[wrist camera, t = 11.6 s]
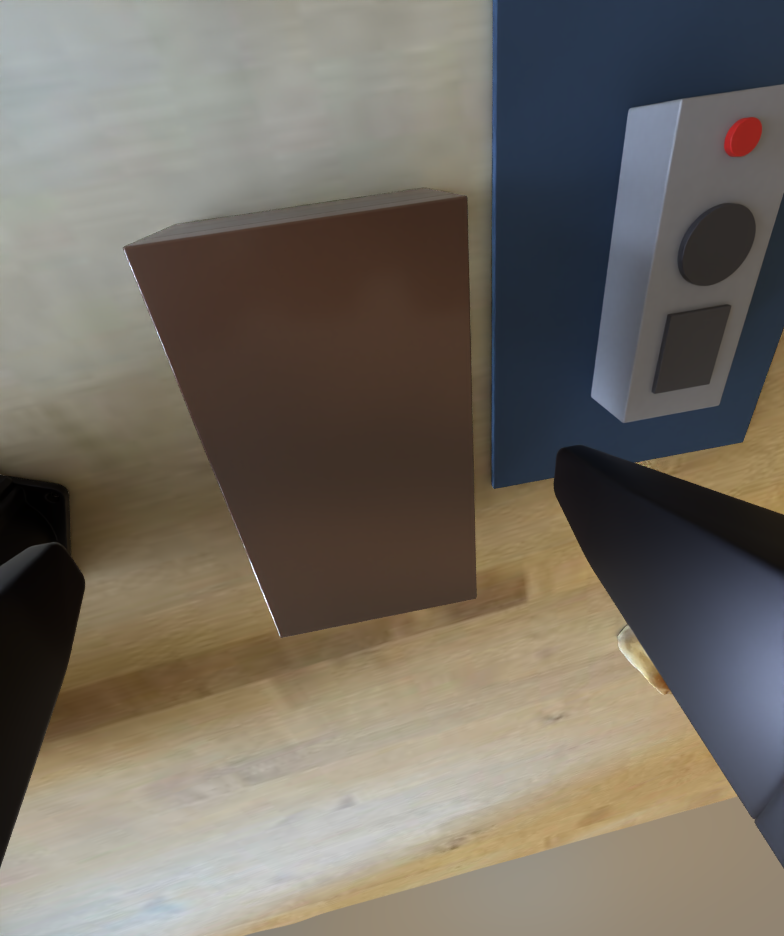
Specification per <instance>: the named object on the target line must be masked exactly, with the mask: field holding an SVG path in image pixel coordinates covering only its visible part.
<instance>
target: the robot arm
mask: <svg viewBox="0 0 784 936" xmlns="http://www.w3.org/2000/svg"><path fill="white" fill-rule="evenodd" d="M554 492H555V495H556V498H557V500H558V502H559V504H560V506H561V508H562V510H563V512H564V514H565V516H566V518H567V520H568V522H569V524H570V526H571V528H572V530H573V532H574V535H575V537H576V539H577V541H578V543H579V545H580V547H581V549H582V551H583V553H584V555H585V557H586V559H587V560H588V562H589V564H590V565H591V567H592V569H593V570H594V572H595V574H596V575H597V577H598V578H599V580H600V581H601V583H602V585H603V586H604V588H605V589H606V591H607V592H608V594H609V596H610V597H611V599H612V600H613V602H614V603H615V605H616V606H617V608H618V610H619V611H620V613H621V614H622V616H623V617H624V619H625V621H626V622H627V624H628V625H629V627H630V628H631V630H632V631H633V633H634V635H635V636H636V638H637V639H638V641H639V642H640V644H641V645H642V647H643V649H644V650H645V652H646V653H647V655H648V656H649V658H650V660H651V661H652V663H653V664H654V666H655V667H656V669H657V670H658V672H659V674H660V675H661V677H662V678H663V680H664V681H665V683H666V685H667V686H668V688H669V689H670V691H671V692H672V694H673V695H674V697H675V699H676V700H677V702H678V703H679V705H680V706H681V708H682V710H683V711H684V713H685V714H686V716H687V717H688V719H689V720H690V722H691V724H692V725H693V727H694V728H695V730H696V731H697V733H698V735H699V736H700V738H701V739H702V741H703V742H704V744H705V745H706V747H707V749H708V750H709V752H710V753H711V755H712V756H713V758H714V759H715V761H716V763H717V764H718V766H719V767H720V769H721V770H722V772H723V774H724V775H725V777H726V778H727V780H728V781H729V783H730V784H731V786H732V788H733V789H734V791H735V792H736V794H737V795H738V797H739V799H740V800H741V801H742V803H743V804H744V806H745V808H746V809H747V811H748V813H749V814H750V816H751V817H752V818H753V819H755V824H756V826H757V827H758V829H759V830H760V832H761V833H762V835H763V837H764V838H765V840H766V841H767V843H768V844H769V846H770V848H771V849H772V851H773V852H774V854H775V855H776V857H777V859H778V860H779V862H780V863H781V865H782V866H783V868H784V515H783V514H780V513H777V512H774V511H771V510H768V509H766V508H763V507H760V506H757V505H754V504H751V503H748V502H745V501H743V500H740V499H737V498H734V497H731V496H728V495H725V494H722V493H719V492H717V491H714V490H711V489H708V488H705V487H702V486H699V485H696V484H694V483H691V482H688V481H685V480H682V479H679V478H676V477H673V476H670V475H668V474H665V473H662V472H659V471H656V470H653V469H650V468H647V467H645V466H642V465H639V464H636V463H633V462H630V461H627V460H624V459H622V458H619V457H616V456H613V455H610V454H607V453H604V452H601V451H599V450H596V449H593V448H590V447H587V446H584V445H574V446H569V447H564V448H561V449H560V450H559V451H558V453H557V456H556V465H555V475H554ZM51 493H53V494H56V495H57V496H58V497H55V496H53V495H51ZM84 590H85V579H84V576H83V574H82V572H81V571H80V569H79V568H78V566H77V565H76V563H75V562H74V560H73V559H72V557H71V542H70V511H69V493H68V490H67V489H66V488H65V487H63V486H62V485H59V484H56V483H49V482H42V481H36V480H29V479H23V478H16V477H10V476H3V475H0V867H1V864H2V861H3V858H4V855H5V852H6V849H7V846H8V843H9V840H10V837H11V834H12V831H13V828H14V825H15V822H16V820H17V817H18V814H19V811H20V808H21V805H22V802H23V799H24V796H25V793H26V790H27V787H28V784H29V781H30V778H31V775H32V772H33V769H34V766H35V763H36V760H37V757H38V754H39V751H40V748H41V745H42V742H43V739H44V736H45V733H46V731H47V728H48V725H49V722H50V719H51V716H52V713H53V710H54V707H55V704H56V701H57V698H58V695H59V692H60V689H61V686H62V683H63V680H64V677H65V673H66V670H67V666H68V662H69V658H70V654H71V650H72V645H73V641H74V636H75V632H76V627H77V622H78V618H79V613H80V609H81V604H82V599H83V595H84Z"/></svg>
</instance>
